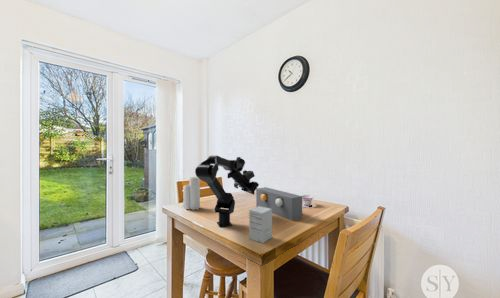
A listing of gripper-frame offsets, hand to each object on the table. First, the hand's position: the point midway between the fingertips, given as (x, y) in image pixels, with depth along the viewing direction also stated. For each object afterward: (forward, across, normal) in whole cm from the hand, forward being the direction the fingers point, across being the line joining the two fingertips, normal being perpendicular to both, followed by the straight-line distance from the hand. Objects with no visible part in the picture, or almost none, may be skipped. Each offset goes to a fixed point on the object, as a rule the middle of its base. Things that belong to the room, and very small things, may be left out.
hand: (253, 193), depth 128 cm
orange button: (+9, 0, -1) cm, 9 cm away
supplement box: (-5, -31, +21) cm, 38 cm away
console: (+17, -7, -1) cm, 18 cm away
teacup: (+35, -9, -19) cm, 41 cm away
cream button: (+9, -14, -1) cm, 17 cm away
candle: (-12, +31, +28) cm, 43 cm away
